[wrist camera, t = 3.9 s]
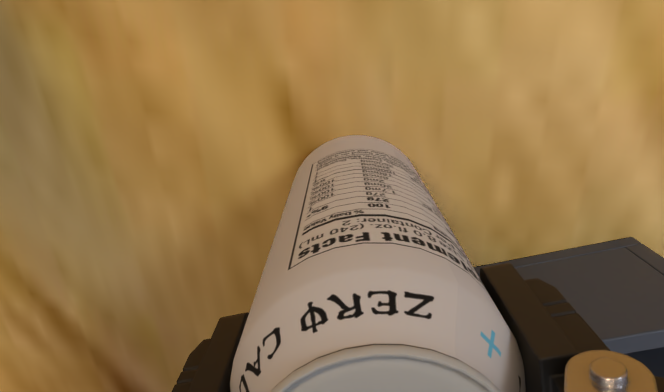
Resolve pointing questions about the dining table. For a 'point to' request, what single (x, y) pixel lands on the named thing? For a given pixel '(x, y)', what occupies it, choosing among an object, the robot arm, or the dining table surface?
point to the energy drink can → (370, 289)
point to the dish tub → (610, 293)
